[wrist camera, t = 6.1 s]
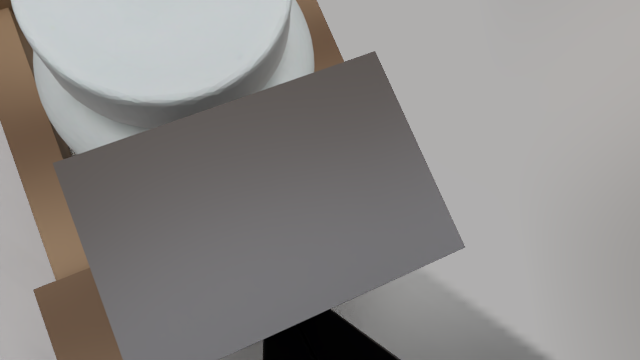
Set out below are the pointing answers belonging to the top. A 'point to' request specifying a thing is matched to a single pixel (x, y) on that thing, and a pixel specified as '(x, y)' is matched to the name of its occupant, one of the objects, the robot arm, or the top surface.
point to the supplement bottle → (155, 59)
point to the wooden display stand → (224, 209)
